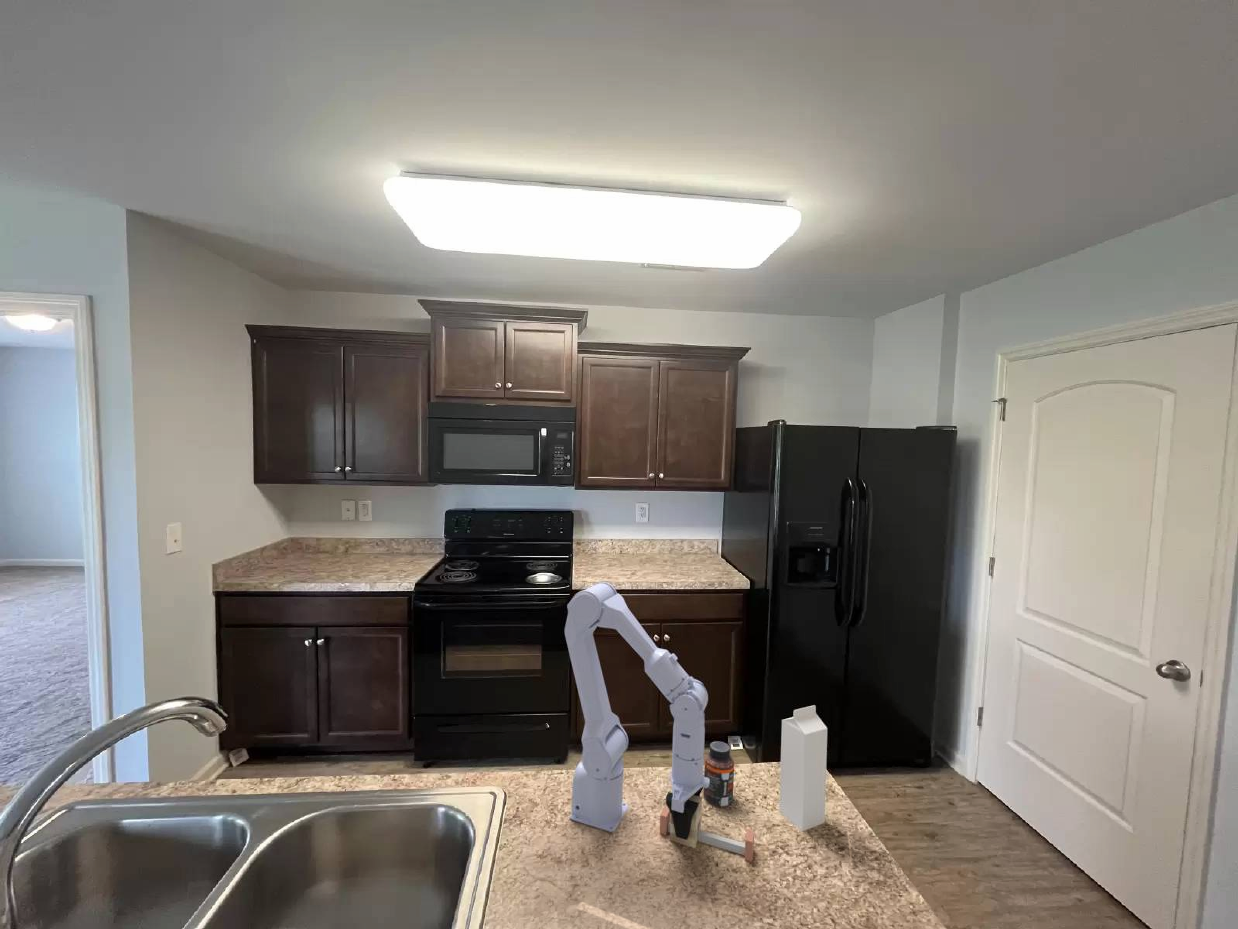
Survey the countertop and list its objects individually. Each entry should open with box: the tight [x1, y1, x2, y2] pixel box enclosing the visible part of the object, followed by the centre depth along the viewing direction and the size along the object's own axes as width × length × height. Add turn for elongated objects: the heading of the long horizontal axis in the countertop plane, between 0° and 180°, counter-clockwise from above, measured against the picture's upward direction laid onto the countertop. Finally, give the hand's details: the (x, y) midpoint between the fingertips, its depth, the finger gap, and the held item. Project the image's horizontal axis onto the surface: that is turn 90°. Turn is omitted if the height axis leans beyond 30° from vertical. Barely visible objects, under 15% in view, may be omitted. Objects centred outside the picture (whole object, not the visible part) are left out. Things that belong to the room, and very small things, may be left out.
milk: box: [778, 704, 828, 832], centre depth 96 cm, size 6×6×22 cm
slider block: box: [669, 795, 703, 849], centre depth 90 cm, size 5×5×6 cm
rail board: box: [659, 804, 755, 863], centre depth 88 cm, size 17×9×4 cm, turn 69°
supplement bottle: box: [703, 740, 735, 809], centre depth 101 cm, size 6×6×11 cm
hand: (685, 826), depth 90 cm, fingers closed on slider block, 5 cm apart
